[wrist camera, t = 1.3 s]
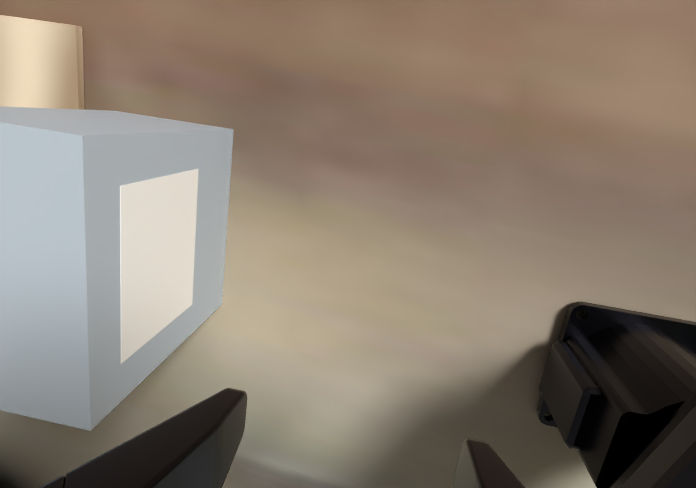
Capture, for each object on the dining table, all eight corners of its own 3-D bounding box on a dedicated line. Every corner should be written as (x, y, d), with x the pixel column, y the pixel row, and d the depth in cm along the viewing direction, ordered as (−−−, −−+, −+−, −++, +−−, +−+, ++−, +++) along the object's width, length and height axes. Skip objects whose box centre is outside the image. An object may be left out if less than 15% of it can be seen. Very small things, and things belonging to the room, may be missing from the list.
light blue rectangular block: (234, 129, 21) (83, 135, 11) (222, 304, 23) (91, 431, 14) (114, 110, 21) (-127, 101, 12) (115, 283, 24) (-82, 391, 14)
